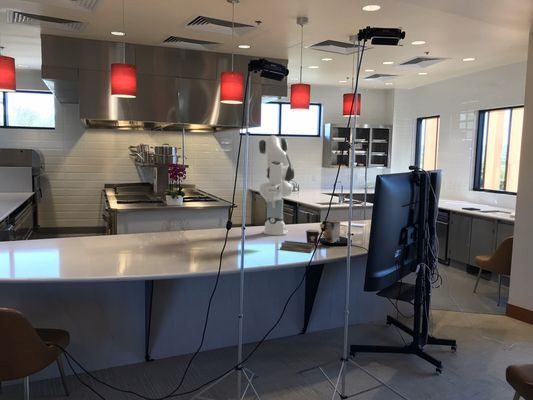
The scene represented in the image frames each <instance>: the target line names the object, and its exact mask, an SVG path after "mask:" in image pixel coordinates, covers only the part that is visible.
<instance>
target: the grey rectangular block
mask: <svg viewBox="0 0 533 400" xmlns="http://www.w3.org/2000/svg"><path fill="white" fill-rule="evenodd" d="M275 205H276V207H275V208H273V207H272V202H269V201H268V199H267V202H266V218H267V217H272V218H283V219H284V217H283V216H284V199H283V198H282V199H278V200H277V201H276V202H275Z"/></svg>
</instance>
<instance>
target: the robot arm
mask: <svg viewBox="0 0 533 400" xmlns="http://www.w3.org/2000/svg"><path fill="white" fill-rule="evenodd" d="M288 147H289V143H288V141H287V139H286V138H283V137H281V138H279V137H278V136H276V135H270V136H268V137H267V139H261V140H260V141H258V144H257V148H258V151H259V153H260V154H262V155H266V178H267V179H268V180H269V181H268V182H265V183H264V182H263V183H261V184H260V186H259V188H258V189H259V190H258V191H259V195H261V197H263V198H264V200H265V201H266V203H267V199H268V201H269V202H272V207H273V208H275V207H276V205H275V202H276V201H277V200H278V199H283V198H287V197H290V196H291V195H292V193H293V186H292V184H291V183H289V182H291V181H292V180H293V179H295V170H294V167H293V166H292V164H291V161H290V159H289V156H288V153H287V151H288ZM288 233H289V230H287V229H286V224H285V222H284V215H283V218H272V217H267V216H266V221H265V222H264V230H263V231H262V234H264V235H267V236H268V235H269V236H287V234H288Z"/></svg>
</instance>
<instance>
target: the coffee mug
mask: <svg viewBox="0 0 533 400" xmlns="http://www.w3.org/2000/svg"><path fill="white" fill-rule="evenodd" d="M305 232H306V233H305V234H306V236H305V237H306V243H315V246H316V244H317V245H318V242H319V241H321V240H323V239H324V232H319V230H318V229H306V230H305ZM321 233H322V237H321V238H319V236H320V235H321Z"/></svg>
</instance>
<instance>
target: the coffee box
mask: <svg viewBox="0 0 533 400" xmlns="http://www.w3.org/2000/svg"><path fill="white" fill-rule="evenodd" d="M325 222H326V223H325ZM324 228H325V230H324V229H323V231H324V232H323V234H324V235H323V236H324V237H323V241H324V240H326V241H328V242H330V243H334V242H337V241H339V242H340V233H341V222H340V221H338V220H337V221H336V220H331V219H329V220H327V219H326V220H324Z"/></svg>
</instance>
